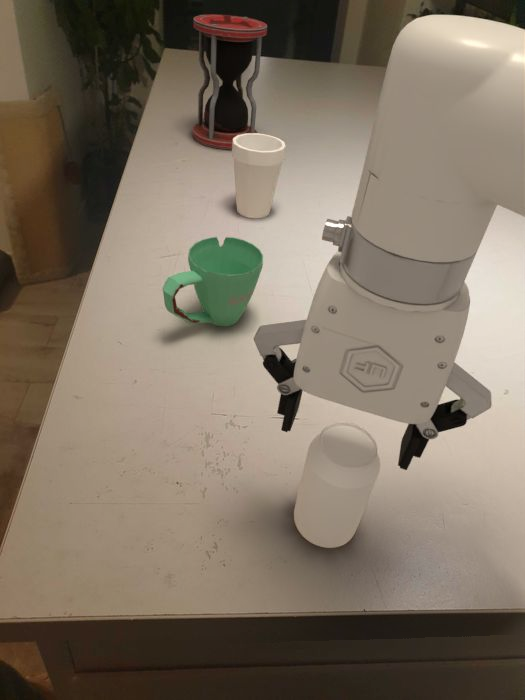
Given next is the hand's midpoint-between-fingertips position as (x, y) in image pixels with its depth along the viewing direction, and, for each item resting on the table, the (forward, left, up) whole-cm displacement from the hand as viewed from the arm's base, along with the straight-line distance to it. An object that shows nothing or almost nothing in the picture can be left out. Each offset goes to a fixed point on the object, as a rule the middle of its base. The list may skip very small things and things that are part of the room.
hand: (345, 437), depth 43 cm
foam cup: (+35, -57, -13) cm, 68 cm away
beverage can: (0, 0, -13) cm, 13 cm away
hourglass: (+58, -89, -13) cm, 107 cm away
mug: (+25, -22, -13) cm, 35 cm away
